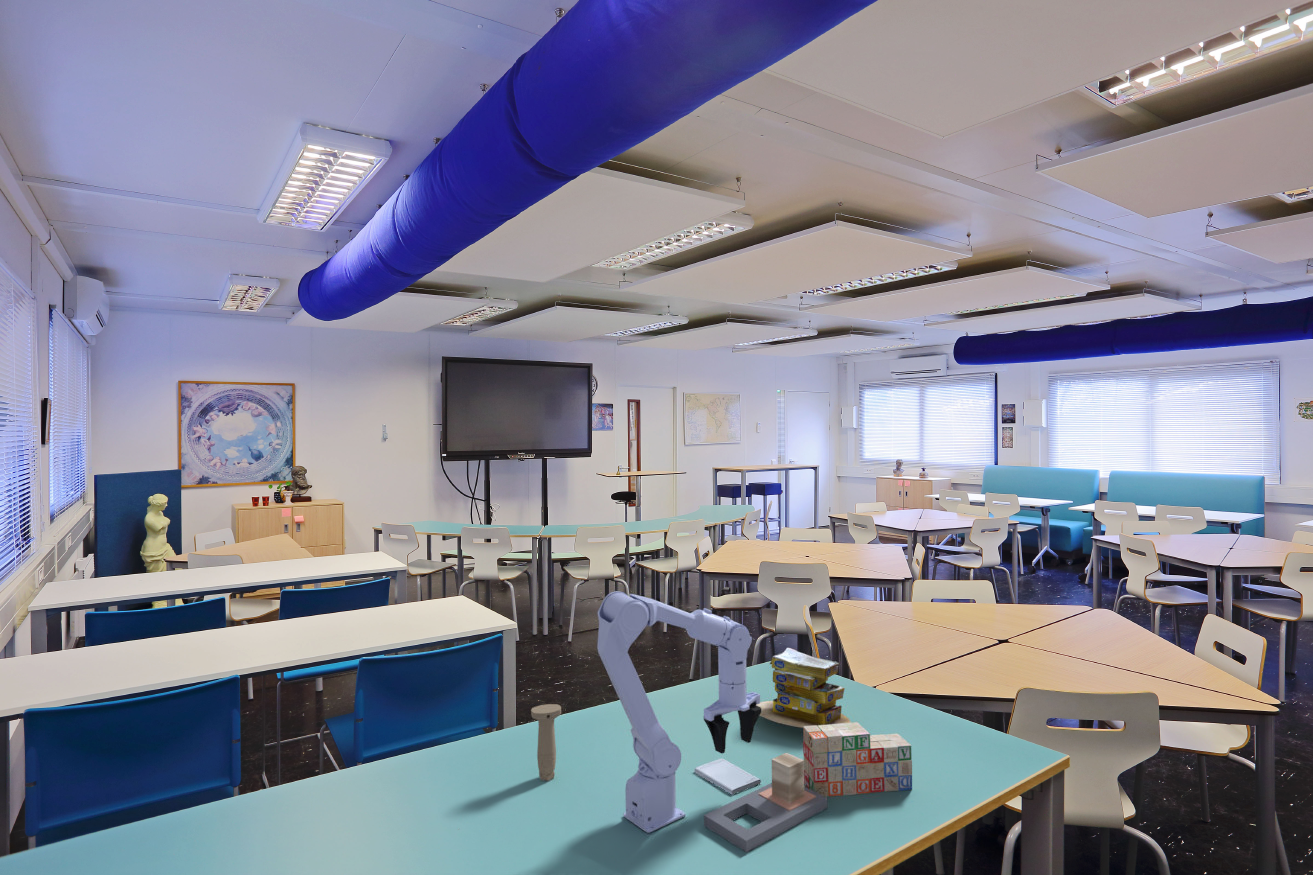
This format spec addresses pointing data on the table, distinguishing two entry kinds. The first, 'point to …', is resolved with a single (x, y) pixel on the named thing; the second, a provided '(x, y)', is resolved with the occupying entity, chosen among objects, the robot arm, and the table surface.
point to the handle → (546, 739)
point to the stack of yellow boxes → (803, 691)
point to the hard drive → (727, 776)
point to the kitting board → (762, 816)
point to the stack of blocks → (854, 760)
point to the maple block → (788, 777)
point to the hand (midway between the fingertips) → (733, 746)
